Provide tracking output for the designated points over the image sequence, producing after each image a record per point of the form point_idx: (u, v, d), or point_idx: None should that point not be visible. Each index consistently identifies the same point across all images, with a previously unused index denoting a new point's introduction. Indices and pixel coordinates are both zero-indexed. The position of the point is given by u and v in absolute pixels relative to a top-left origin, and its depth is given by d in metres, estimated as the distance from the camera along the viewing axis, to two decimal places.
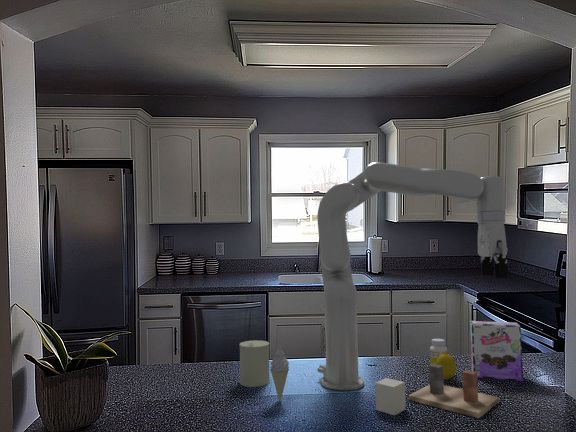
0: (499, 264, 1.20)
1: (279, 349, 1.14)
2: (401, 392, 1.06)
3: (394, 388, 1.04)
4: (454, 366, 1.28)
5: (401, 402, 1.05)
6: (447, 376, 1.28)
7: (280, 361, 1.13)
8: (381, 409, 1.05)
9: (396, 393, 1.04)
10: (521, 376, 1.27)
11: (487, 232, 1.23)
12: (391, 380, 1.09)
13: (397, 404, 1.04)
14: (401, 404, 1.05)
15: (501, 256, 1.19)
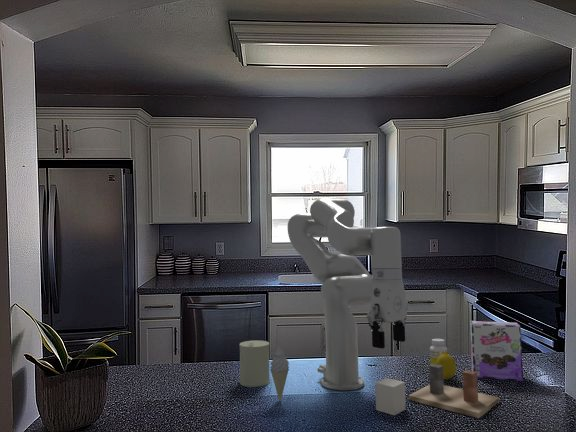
0: None
1: (279, 349, 1.14)
2: (401, 392, 1.06)
3: (394, 388, 1.04)
4: (454, 366, 1.28)
5: (401, 402, 1.05)
6: (447, 376, 1.28)
7: (280, 361, 1.13)
8: (381, 409, 1.05)
9: (396, 393, 1.04)
10: (521, 376, 1.27)
11: (404, 292, 1.10)
12: (391, 380, 1.09)
13: (397, 404, 1.04)
14: (401, 404, 1.05)
15: None
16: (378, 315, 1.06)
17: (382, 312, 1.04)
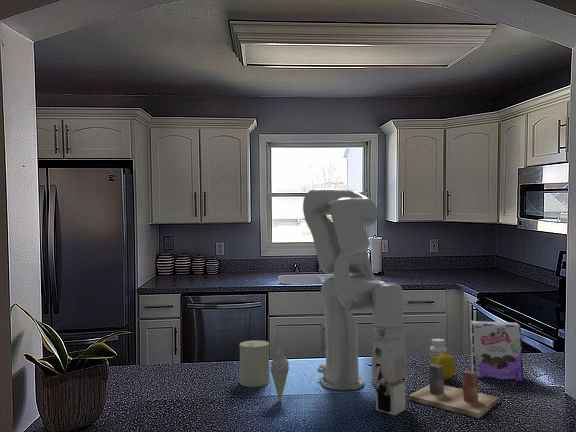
0: None
1: (279, 349, 1.14)
2: (401, 392, 1.06)
3: (394, 388, 1.04)
4: (454, 366, 1.28)
5: (401, 402, 1.05)
6: (447, 376, 1.28)
7: (280, 361, 1.13)
8: None
9: (396, 393, 1.04)
10: (521, 376, 1.27)
11: (405, 349, 1.08)
12: None
13: (397, 404, 1.04)
14: (401, 404, 1.05)
15: None
16: None
17: (383, 373, 1.03)
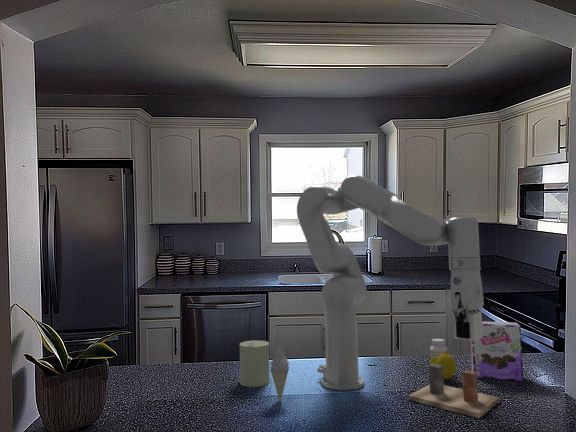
0: None
1: (279, 349, 1.14)
2: (479, 321, 1.09)
3: (474, 315, 1.07)
4: (454, 366, 1.28)
5: (479, 330, 1.09)
6: (447, 376, 1.28)
7: (280, 361, 1.13)
8: None
9: (475, 320, 1.07)
10: (521, 376, 1.27)
11: (481, 281, 1.12)
12: None
13: (476, 331, 1.07)
14: (479, 332, 1.08)
15: None
16: None
17: (464, 300, 1.06)
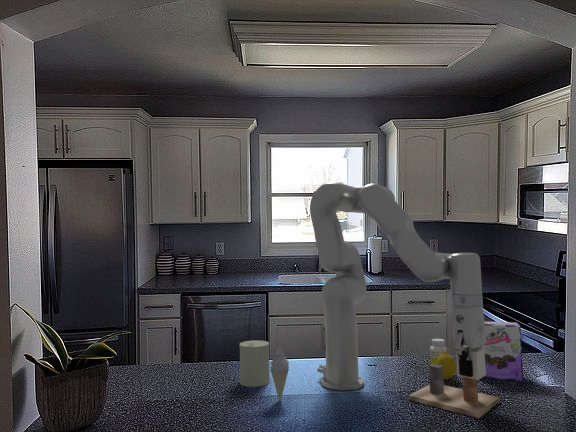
0: None
1: (279, 349, 1.14)
2: (482, 358, 1.08)
3: (477, 353, 1.06)
4: (454, 366, 1.28)
5: (482, 368, 1.08)
6: (447, 376, 1.28)
7: (280, 361, 1.13)
8: None
9: (478, 358, 1.06)
10: (521, 376, 1.27)
11: (483, 317, 1.11)
12: None
13: (479, 369, 1.06)
14: (482, 369, 1.08)
15: None
16: None
17: (466, 338, 1.05)
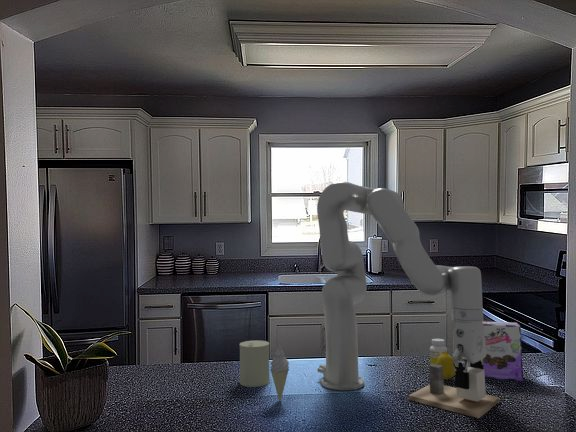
0: None
1: (279, 349, 1.14)
2: (482, 379, 1.08)
3: (477, 375, 1.06)
4: None
5: (482, 389, 1.08)
6: (447, 376, 1.28)
7: (280, 361, 1.13)
8: (462, 396, 1.08)
9: (478, 380, 1.06)
10: (521, 376, 1.27)
11: (483, 331, 1.11)
12: (470, 368, 1.11)
13: (479, 390, 1.06)
14: (482, 391, 1.07)
15: None
16: (460, 355, 1.08)
17: (466, 353, 1.05)
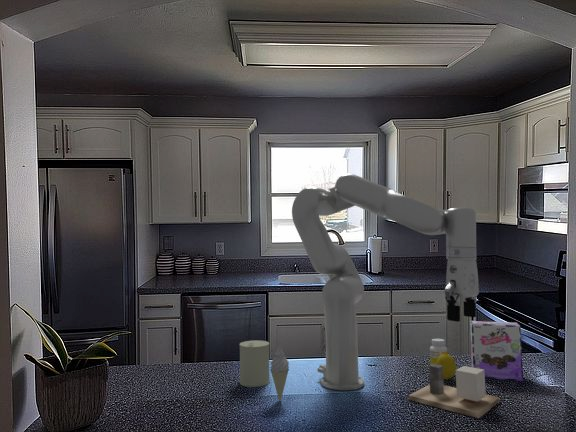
0: None
1: (279, 349, 1.14)
2: (482, 379, 1.08)
3: (477, 375, 1.06)
4: (454, 366, 1.28)
5: (482, 389, 1.08)
6: (447, 376, 1.28)
7: (280, 361, 1.13)
8: (462, 396, 1.08)
9: (478, 380, 1.06)
10: (521, 376, 1.27)
11: None
12: (470, 368, 1.11)
13: (479, 390, 1.06)
14: (482, 391, 1.07)
15: None
16: (453, 291, 1.13)
17: (458, 287, 1.10)
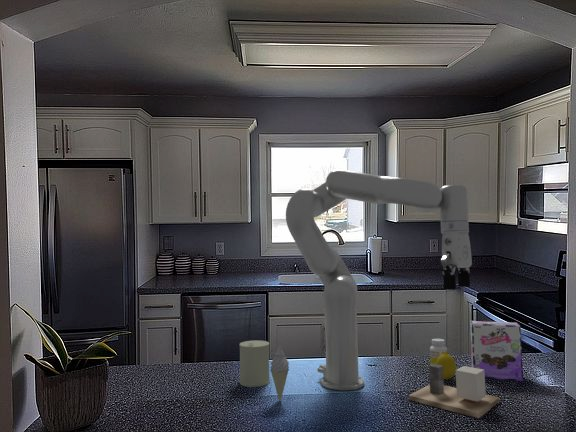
0: None
1: (279, 349, 1.14)
2: (482, 379, 1.08)
3: (477, 375, 1.06)
4: (454, 366, 1.28)
5: (482, 389, 1.08)
6: (447, 376, 1.28)
7: (280, 361, 1.13)
8: (462, 396, 1.08)
9: (478, 380, 1.06)
10: (521, 376, 1.27)
11: (469, 243, 1.24)
12: (470, 368, 1.11)
13: (479, 390, 1.06)
14: (482, 391, 1.07)
15: None
16: (448, 262, 1.21)
17: (453, 258, 1.18)
